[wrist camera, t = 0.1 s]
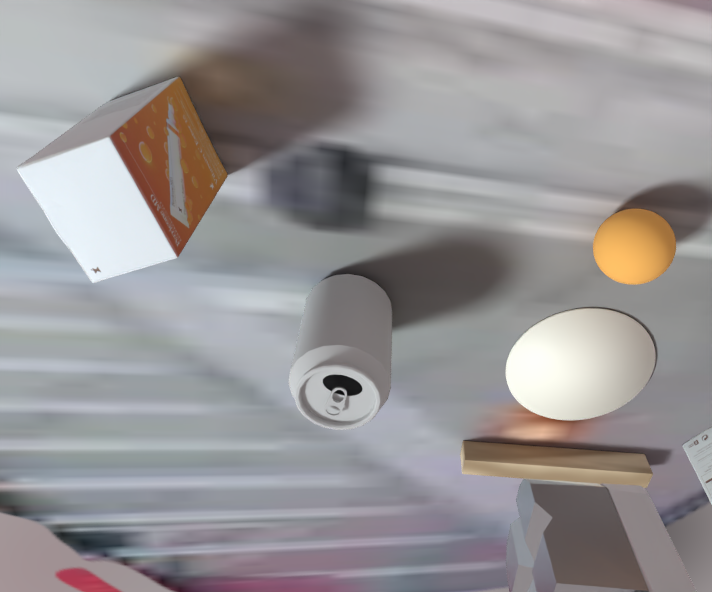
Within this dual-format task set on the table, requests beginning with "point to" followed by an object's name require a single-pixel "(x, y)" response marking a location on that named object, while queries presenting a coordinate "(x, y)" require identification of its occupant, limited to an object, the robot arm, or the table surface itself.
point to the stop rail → (554, 463)
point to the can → (343, 353)
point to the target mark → (580, 364)
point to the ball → (634, 246)
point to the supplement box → (702, 458)
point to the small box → (128, 180)
